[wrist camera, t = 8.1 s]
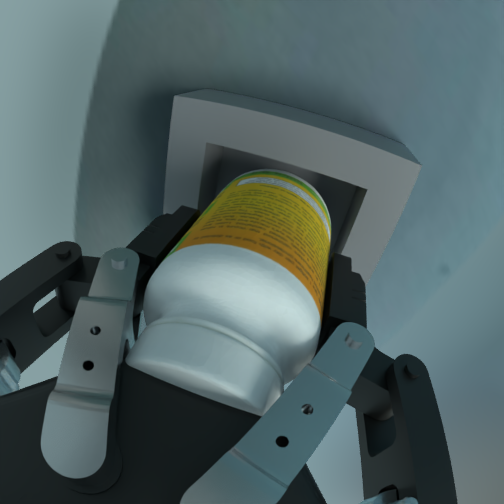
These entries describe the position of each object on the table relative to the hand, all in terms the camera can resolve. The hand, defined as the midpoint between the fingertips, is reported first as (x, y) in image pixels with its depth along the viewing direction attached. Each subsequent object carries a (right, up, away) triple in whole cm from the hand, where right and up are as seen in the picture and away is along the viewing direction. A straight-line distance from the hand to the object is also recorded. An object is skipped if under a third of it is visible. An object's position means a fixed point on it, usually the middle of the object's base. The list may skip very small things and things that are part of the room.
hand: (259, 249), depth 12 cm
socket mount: (+1, +3, +4) cm, 5 cm away
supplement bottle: (+1, +1, +2) cm, 3 cm away
